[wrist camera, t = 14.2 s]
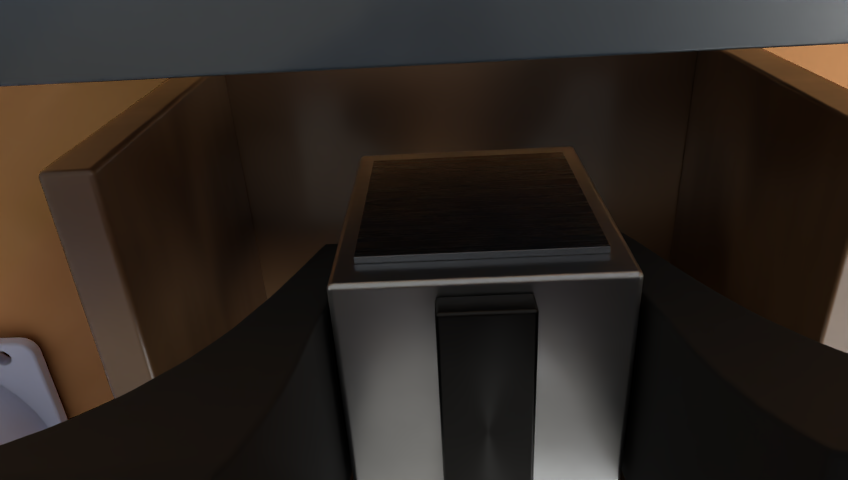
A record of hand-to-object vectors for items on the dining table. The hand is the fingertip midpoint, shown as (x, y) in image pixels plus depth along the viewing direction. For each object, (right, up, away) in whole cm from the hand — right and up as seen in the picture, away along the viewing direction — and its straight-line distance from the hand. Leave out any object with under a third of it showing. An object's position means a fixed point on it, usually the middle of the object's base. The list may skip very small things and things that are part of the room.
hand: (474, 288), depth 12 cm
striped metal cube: (0, +1, +1) cm, 1 cm away
